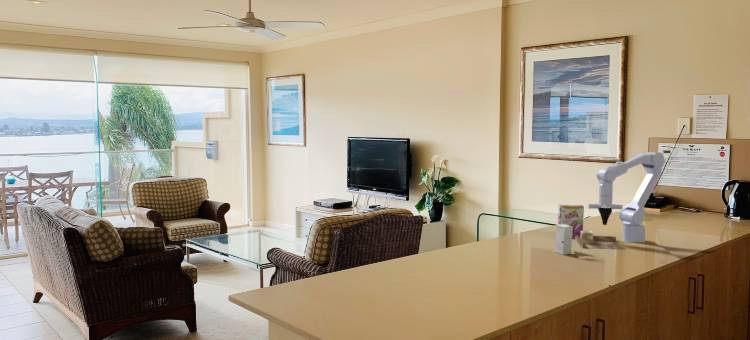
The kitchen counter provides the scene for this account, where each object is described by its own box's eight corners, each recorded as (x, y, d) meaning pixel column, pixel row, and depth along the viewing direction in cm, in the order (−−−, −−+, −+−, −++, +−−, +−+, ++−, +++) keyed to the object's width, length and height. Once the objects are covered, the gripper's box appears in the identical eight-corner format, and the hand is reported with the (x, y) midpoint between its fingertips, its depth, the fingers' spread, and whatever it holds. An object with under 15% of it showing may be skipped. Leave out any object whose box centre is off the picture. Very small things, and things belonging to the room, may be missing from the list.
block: (591, 241, 270) (592, 231, 270) (592, 244, 265) (593, 233, 265) (580, 241, 271) (580, 230, 271) (581, 243, 267) (581, 232, 266)
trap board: (615, 243, 274) (615, 236, 273) (626, 252, 254) (626, 245, 254) (574, 241, 277) (575, 235, 276) (582, 250, 257) (582, 243, 257)
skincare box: (554, 252, 254) (555, 224, 253) (563, 251, 255) (564, 224, 254) (563, 255, 248) (564, 226, 247) (572, 254, 249) (573, 226, 248)
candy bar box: (559, 239, 283) (560, 205, 281) (556, 237, 288) (557, 203, 286) (583, 239, 282) (584, 205, 280) (580, 237, 287) (581, 204, 285)
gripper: (590, 195, 265) (589, 225, 266) (624, 196, 263) (623, 226, 264) (587, 193, 272) (586, 222, 273) (620, 194, 270) (619, 223, 271)
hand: (604, 224), depth 269 cm, fingers closed
